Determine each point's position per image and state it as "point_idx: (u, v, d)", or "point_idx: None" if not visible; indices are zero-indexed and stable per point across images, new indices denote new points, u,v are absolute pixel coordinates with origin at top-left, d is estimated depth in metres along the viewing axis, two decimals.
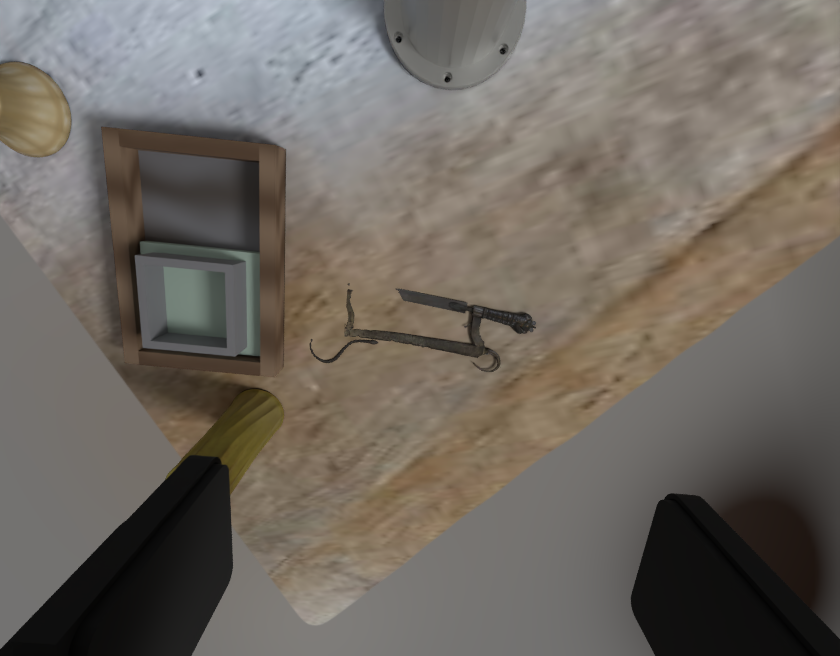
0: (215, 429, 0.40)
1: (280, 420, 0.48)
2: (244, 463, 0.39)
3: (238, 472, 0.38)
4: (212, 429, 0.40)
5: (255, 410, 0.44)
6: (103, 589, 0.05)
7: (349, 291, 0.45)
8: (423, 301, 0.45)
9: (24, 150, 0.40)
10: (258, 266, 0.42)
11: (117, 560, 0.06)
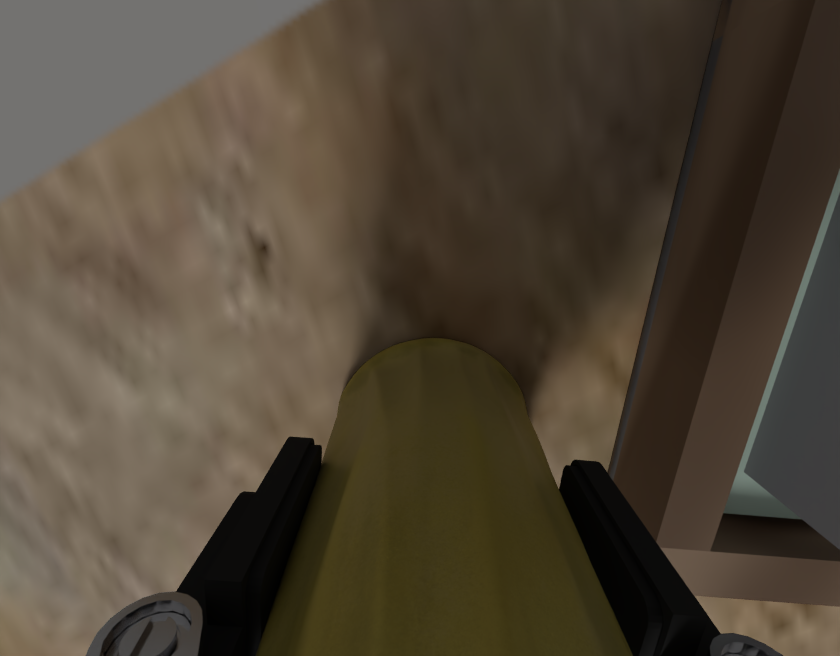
0: None
1: None
2: None
3: None
4: None
5: None
6: (261, 542, 0.06)
7: None
8: None
9: None
10: None
11: (263, 520, 0.07)
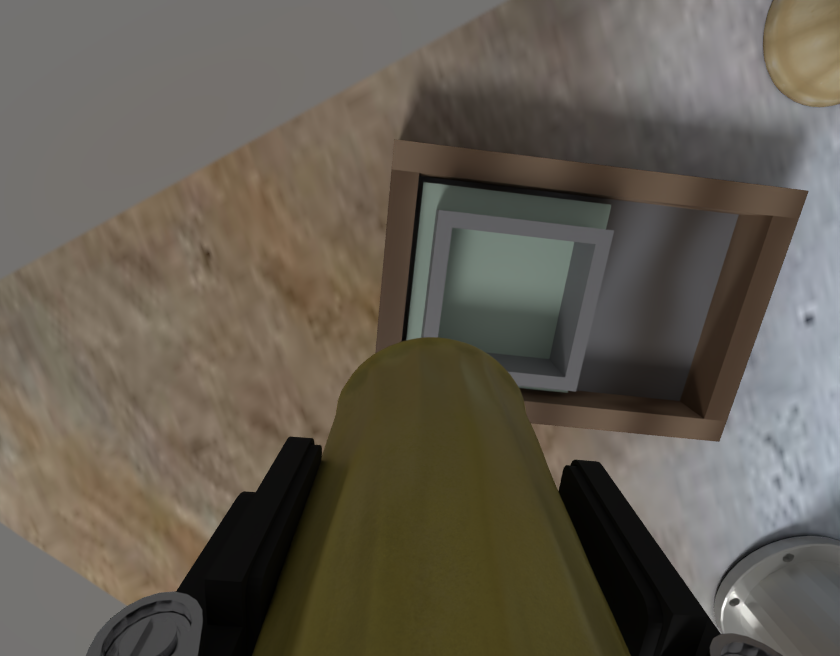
0: None
1: None
2: None
3: None
4: None
5: None
6: (261, 541, 0.06)
7: None
8: None
9: (788, 6, 0.22)
10: (549, 388, 0.27)
11: (263, 520, 0.07)
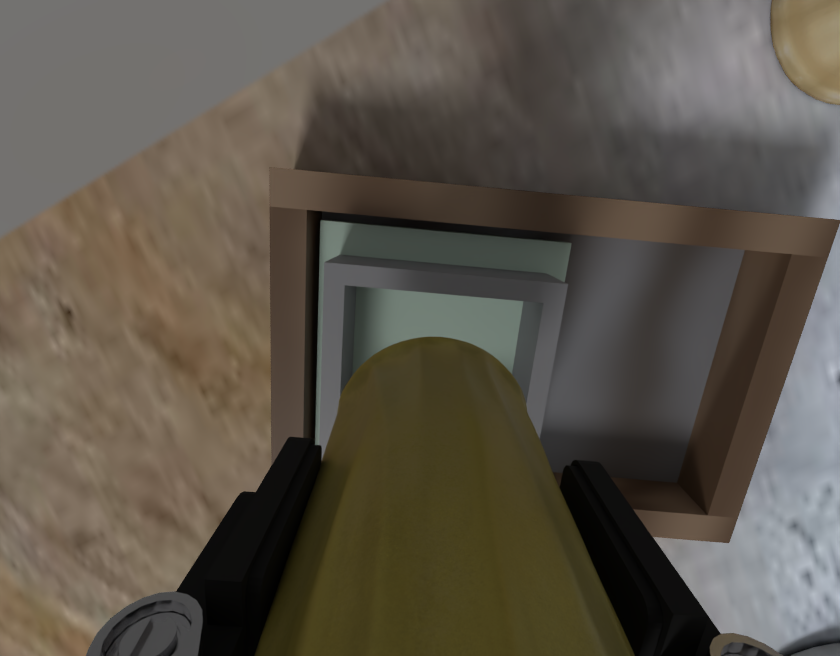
0: None
1: None
2: None
3: None
4: None
5: None
6: (261, 541, 0.06)
7: None
8: None
9: None
10: None
11: (263, 520, 0.07)
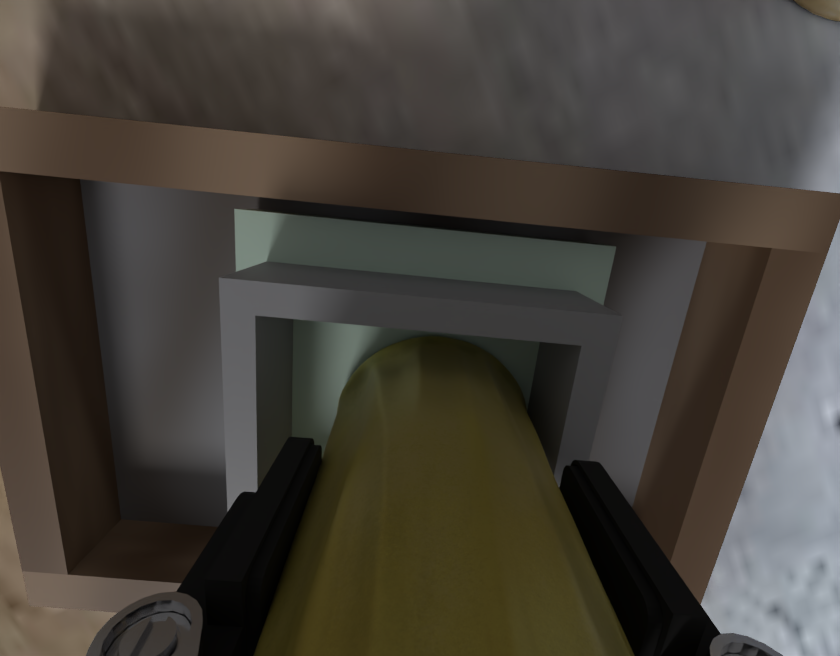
0: None
1: None
2: None
3: None
4: None
5: None
6: (261, 541, 0.06)
7: None
8: None
9: None
10: None
11: (263, 520, 0.07)
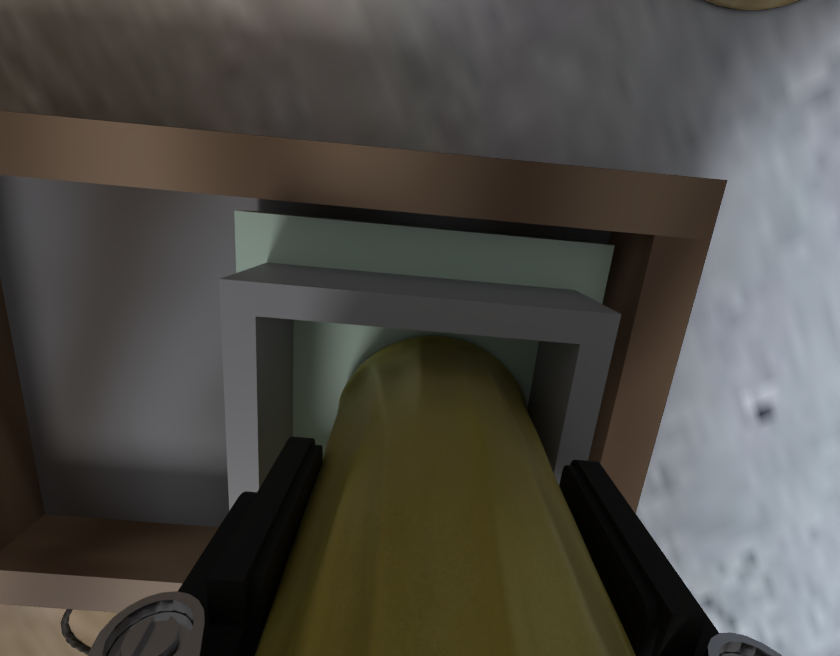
0: None
1: None
2: None
3: None
4: None
5: None
6: (262, 541, 0.06)
7: None
8: None
9: None
10: None
11: (264, 519, 0.07)
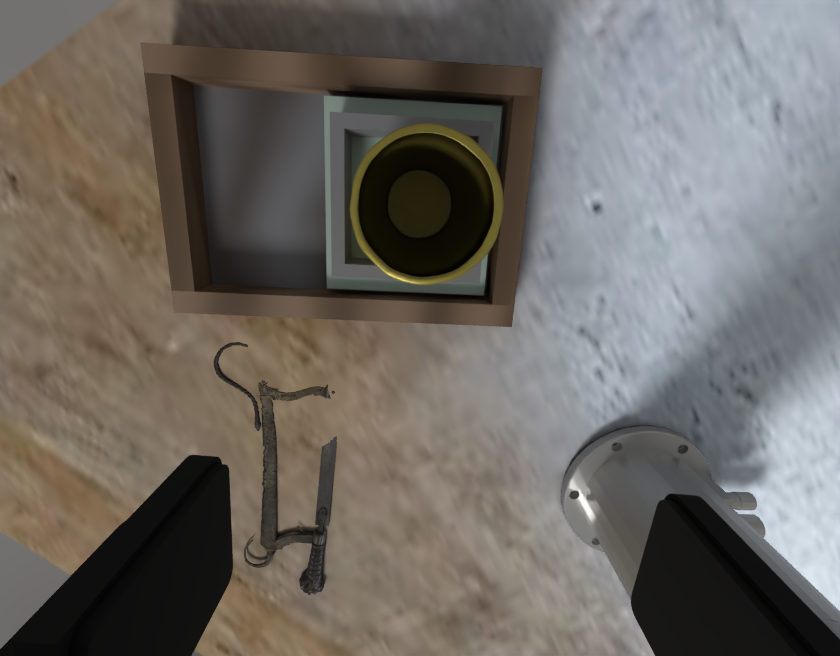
0: None
1: None
2: None
3: None
4: None
5: None
6: (103, 589, 0.05)
7: (323, 393, 0.33)
8: (323, 479, 0.36)
9: None
10: (465, 292, 0.29)
11: (117, 560, 0.06)
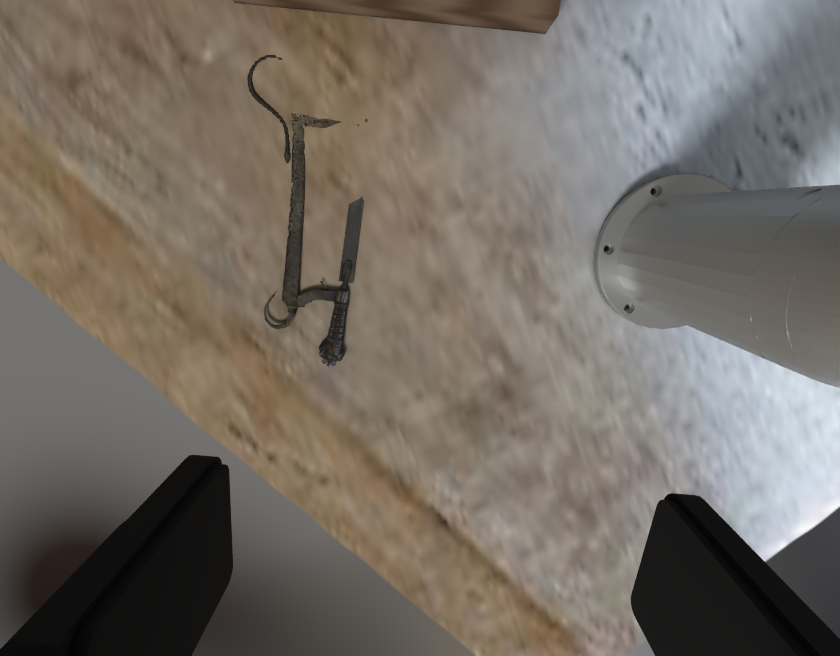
0: None
1: None
2: None
3: None
4: None
5: None
6: (103, 588, 0.05)
7: None
8: (350, 226, 0.35)
9: None
10: None
11: (117, 560, 0.06)
